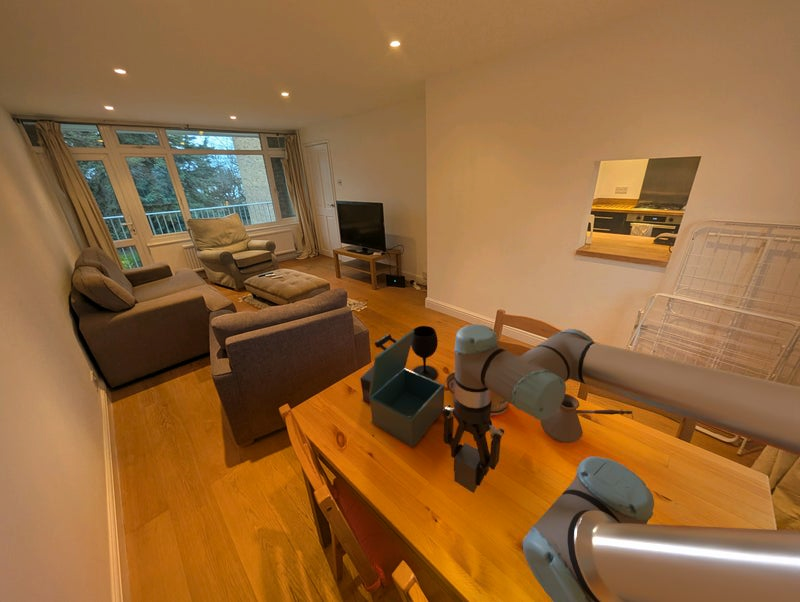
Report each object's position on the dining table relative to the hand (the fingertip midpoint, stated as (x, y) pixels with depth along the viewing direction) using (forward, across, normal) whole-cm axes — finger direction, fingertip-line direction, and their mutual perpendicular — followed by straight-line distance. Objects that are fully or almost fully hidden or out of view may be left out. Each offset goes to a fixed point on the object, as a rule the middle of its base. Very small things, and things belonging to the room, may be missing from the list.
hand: (468, 473), depth 69 cm
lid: (-10, +34, -14) cm, 38 cm away
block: (+2, 0, 0) cm, 2 cm away
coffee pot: (+10, -18, -36) cm, 42 cm away
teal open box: (+10, +28, -14) cm, 33 cm away
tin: (+10, +18, -36) cm, 41 cm away
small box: (+10, +44, -16) cm, 48 cm away
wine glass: (+10, +36, -36) cm, 52 cm away
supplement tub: (+10, +8, -35) cm, 37 cm away
